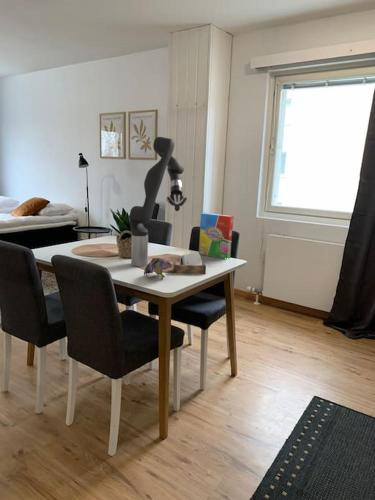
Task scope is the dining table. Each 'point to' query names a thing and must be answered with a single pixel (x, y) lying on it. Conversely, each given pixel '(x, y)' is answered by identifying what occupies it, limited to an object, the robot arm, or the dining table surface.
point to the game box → (215, 235)
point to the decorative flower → (157, 266)
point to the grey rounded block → (191, 259)
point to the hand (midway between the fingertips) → (177, 210)
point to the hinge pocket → (189, 269)
